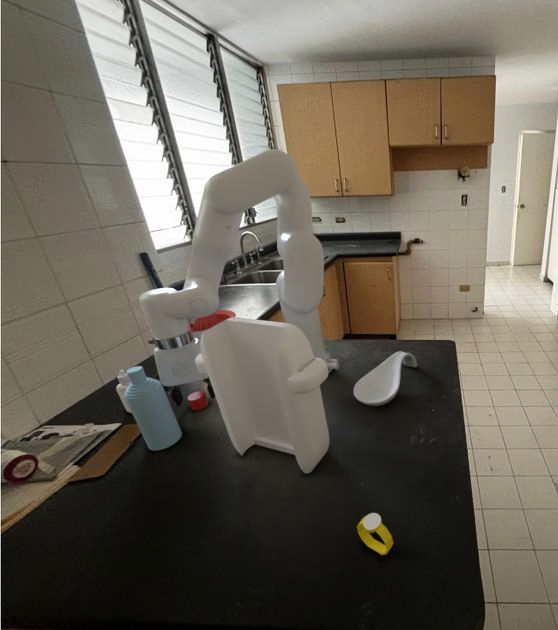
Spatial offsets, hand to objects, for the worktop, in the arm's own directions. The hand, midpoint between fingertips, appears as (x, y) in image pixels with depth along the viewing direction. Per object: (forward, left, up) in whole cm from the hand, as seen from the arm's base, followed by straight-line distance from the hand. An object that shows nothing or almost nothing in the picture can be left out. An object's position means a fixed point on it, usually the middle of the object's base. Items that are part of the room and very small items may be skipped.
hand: (197, 399), depth 88 cm
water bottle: (-2, +12, -2) cm, 13 cm away
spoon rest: (-48, -15, -2) cm, 50 cm away
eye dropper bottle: (+15, +4, -2) cm, 16 cm away
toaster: (-32, +10, -2) cm, 34 cm away
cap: (0, 0, -2) cm, 2 cm away
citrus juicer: (+8, -17, -2) cm, 19 cm away
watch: (-58, +27, -2) cm, 64 cm away
